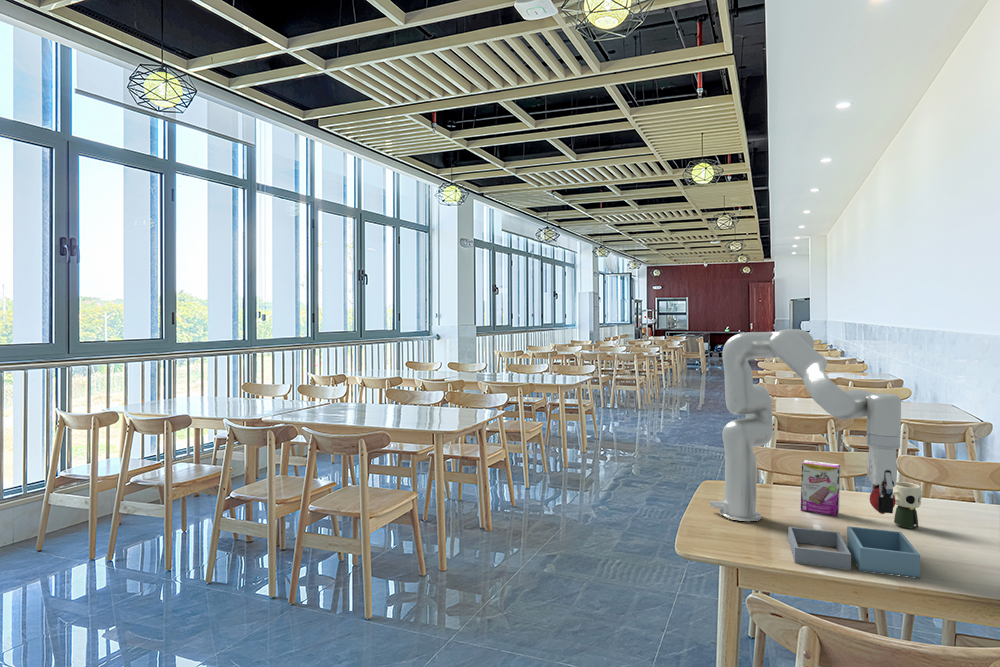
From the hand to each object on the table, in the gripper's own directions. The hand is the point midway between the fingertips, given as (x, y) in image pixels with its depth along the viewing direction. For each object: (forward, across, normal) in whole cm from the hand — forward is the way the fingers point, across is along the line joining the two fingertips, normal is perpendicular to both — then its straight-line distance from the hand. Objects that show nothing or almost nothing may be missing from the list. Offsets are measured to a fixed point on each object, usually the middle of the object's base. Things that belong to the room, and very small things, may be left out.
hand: (882, 508), depth 160 cm
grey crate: (+14, 0, -15) cm, 21 cm away
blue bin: (+14, 0, 0) cm, 14 cm away
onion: (+2, 0, 0) cm, 2 cm away
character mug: (+15, -34, +14) cm, 40 cm away
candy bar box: (+15, -40, -9) cm, 44 cm away
